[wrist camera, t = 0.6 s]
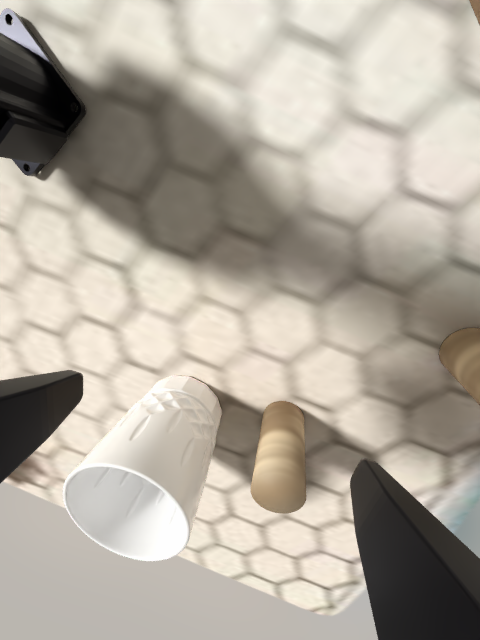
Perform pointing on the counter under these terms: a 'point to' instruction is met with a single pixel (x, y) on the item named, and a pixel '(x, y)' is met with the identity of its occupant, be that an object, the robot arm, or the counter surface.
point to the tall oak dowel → (463, 359)
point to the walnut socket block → (476, 8)
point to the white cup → (148, 472)
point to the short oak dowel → (280, 459)
